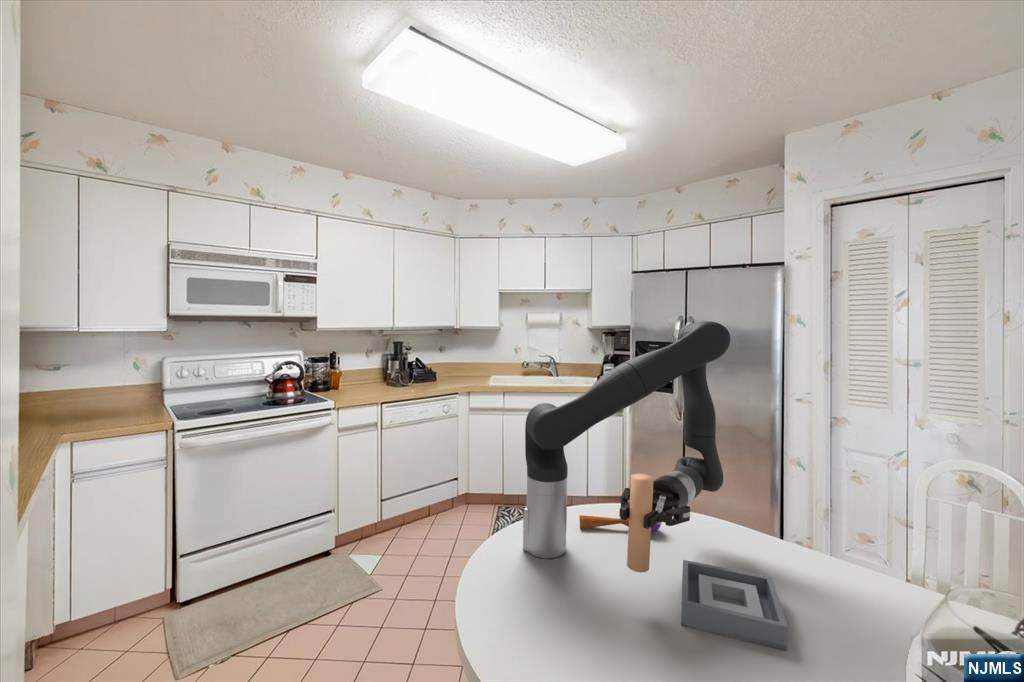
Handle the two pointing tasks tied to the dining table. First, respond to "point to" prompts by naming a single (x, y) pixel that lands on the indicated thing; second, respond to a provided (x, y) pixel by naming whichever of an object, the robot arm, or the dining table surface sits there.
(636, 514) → the peg
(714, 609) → the box
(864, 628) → the dining table surface
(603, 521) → the kendama
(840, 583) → the dining table surface
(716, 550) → the dining table surface
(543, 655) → the dining table surface
